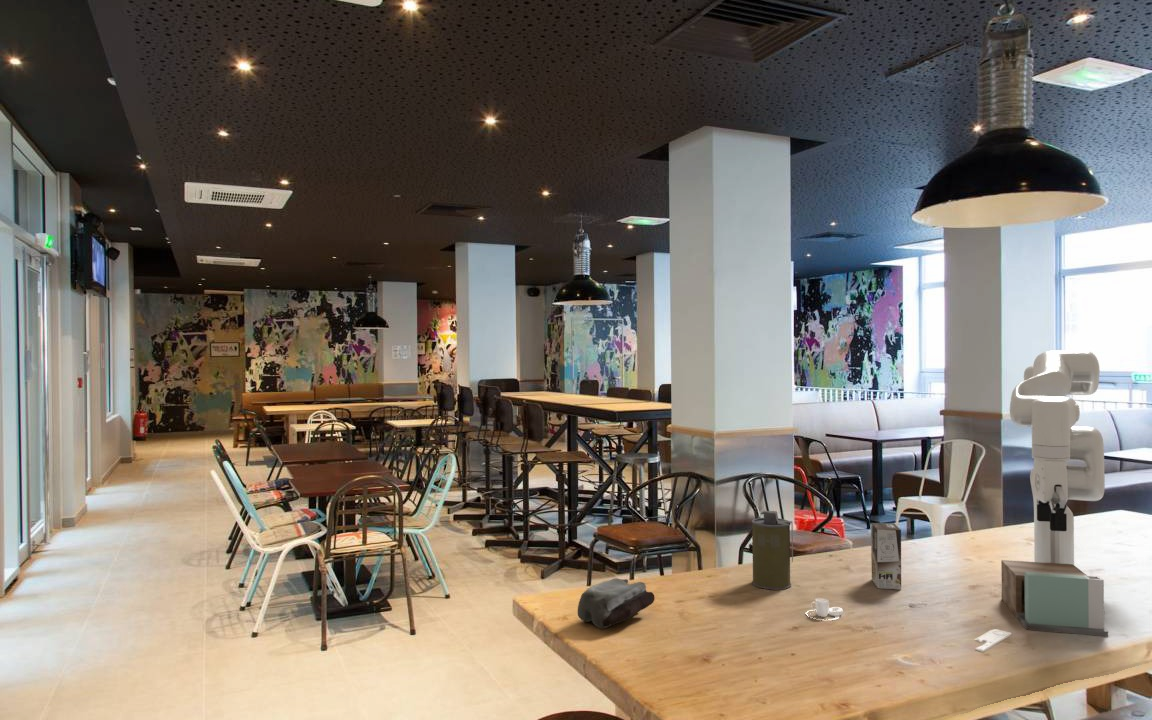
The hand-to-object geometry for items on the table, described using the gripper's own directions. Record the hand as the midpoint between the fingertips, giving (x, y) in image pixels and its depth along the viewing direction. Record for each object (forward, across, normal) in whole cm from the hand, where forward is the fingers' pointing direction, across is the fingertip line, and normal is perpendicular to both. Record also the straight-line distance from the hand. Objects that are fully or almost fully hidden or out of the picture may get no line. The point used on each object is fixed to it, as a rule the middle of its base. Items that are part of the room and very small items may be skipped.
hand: (1051, 525), depth 178 cm
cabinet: (+23, -5, +1) cm, 23 cm away
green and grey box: (+22, +3, +1) cm, 22 cm away
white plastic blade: (+23, +16, -17) cm, 33 cm away
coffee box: (+23, -23, -34) cm, 47 cm away
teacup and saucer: (+23, +9, -49) cm, 55 cm away
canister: (+23, -15, -64) cm, 69 cm away
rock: (+22, +23, -99) cm, 104 cm away
